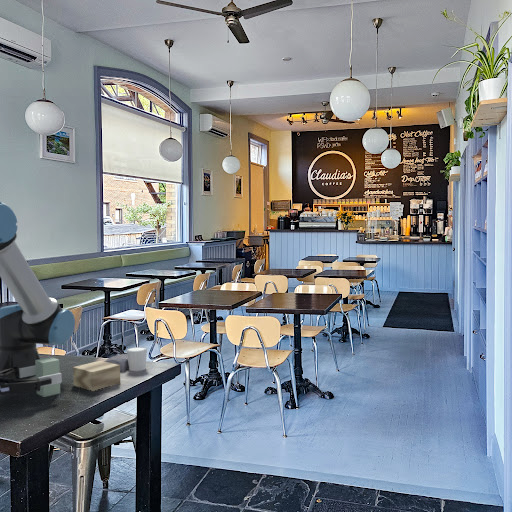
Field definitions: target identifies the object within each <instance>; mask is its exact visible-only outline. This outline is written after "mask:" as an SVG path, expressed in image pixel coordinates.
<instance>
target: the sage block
mask: <svg viewBox="0 0 512 512" xmlns="http://www.w3.org/2000/svg"><path fill="white" fill-rule="evenodd" d="M35 363H36V375H35V379H38V377H43V376H47V375H52V374H57V373H61V371H60V366H61V365H60V359H58V358H55V357H53V356H50V357H46V358H45V357H44V358H41V359H38V360H35ZM36 394H37V395H38V396H40V397H43V398H45V397H50V396H54V395H55V396H56V395H59V394H61V383H58V384H53V385H49V386H44V387H40V391H36Z"/></svg>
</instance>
